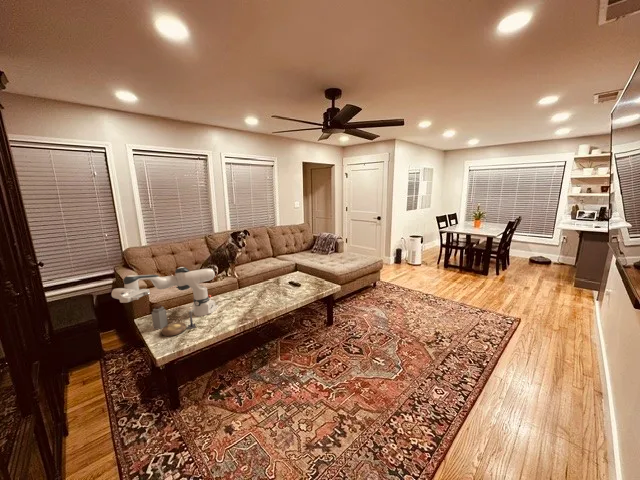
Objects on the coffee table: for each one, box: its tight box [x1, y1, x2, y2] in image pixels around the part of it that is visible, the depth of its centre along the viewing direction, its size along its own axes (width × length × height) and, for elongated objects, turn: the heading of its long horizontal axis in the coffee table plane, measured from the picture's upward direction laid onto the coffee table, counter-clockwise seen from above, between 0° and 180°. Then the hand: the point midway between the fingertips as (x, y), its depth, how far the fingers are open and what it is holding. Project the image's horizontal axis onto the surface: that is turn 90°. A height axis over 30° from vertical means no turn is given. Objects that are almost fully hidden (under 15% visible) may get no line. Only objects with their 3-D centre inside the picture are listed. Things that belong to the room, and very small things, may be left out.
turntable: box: [161, 321, 187, 337], centre depth 198 cm, size 16×16×3 cm
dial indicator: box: [186, 305, 196, 330], centre depth 203 cm, size 5×5×17 cm
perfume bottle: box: [151, 303, 169, 330], centre depth 204 cm, size 7×7×18 cm
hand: (143, 296), depth 204 cm, fingers open, 8 cm apart
